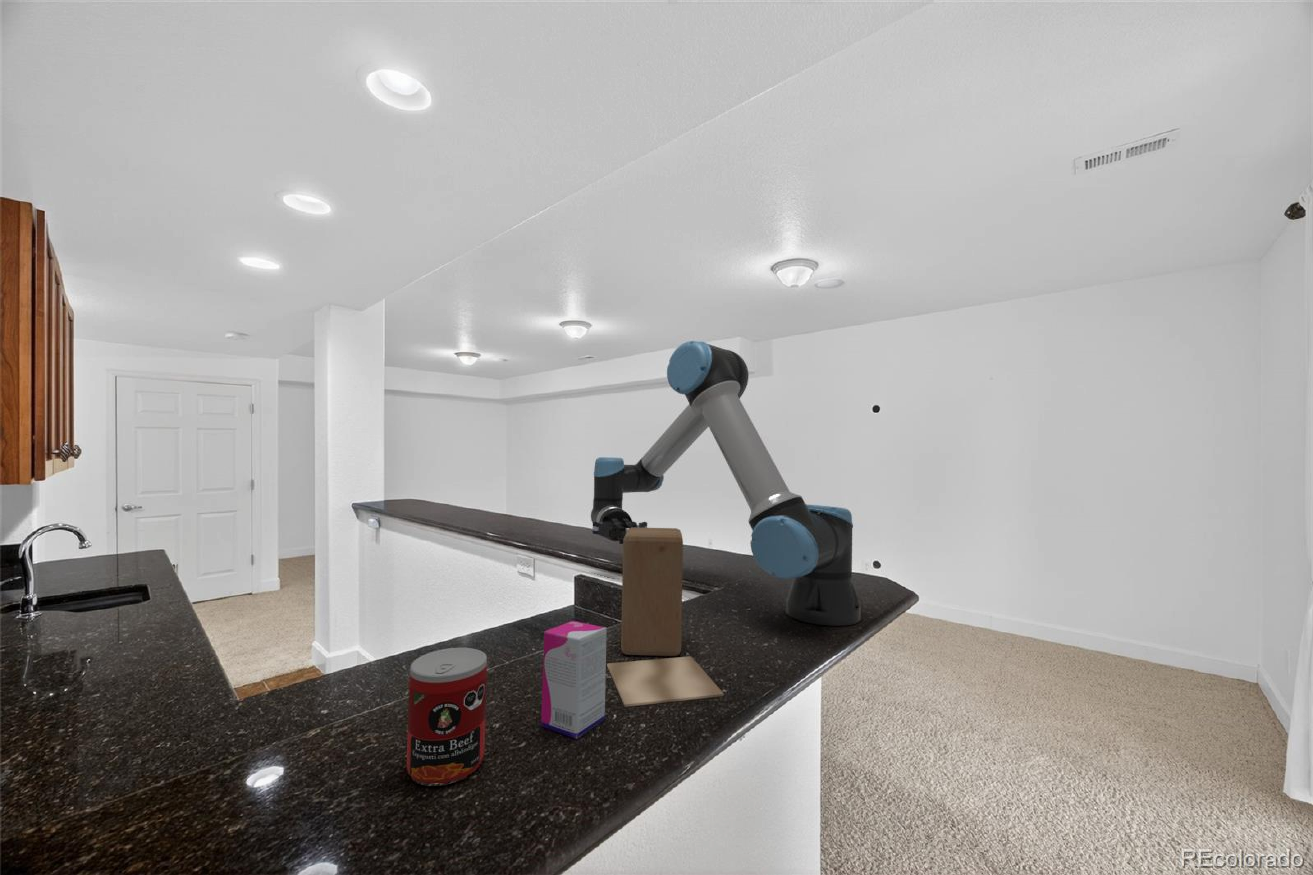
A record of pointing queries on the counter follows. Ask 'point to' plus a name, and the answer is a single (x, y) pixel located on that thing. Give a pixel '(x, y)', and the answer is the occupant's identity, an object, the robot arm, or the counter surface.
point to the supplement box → (573, 678)
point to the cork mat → (661, 681)
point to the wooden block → (652, 592)
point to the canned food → (446, 714)
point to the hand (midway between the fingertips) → (635, 540)
